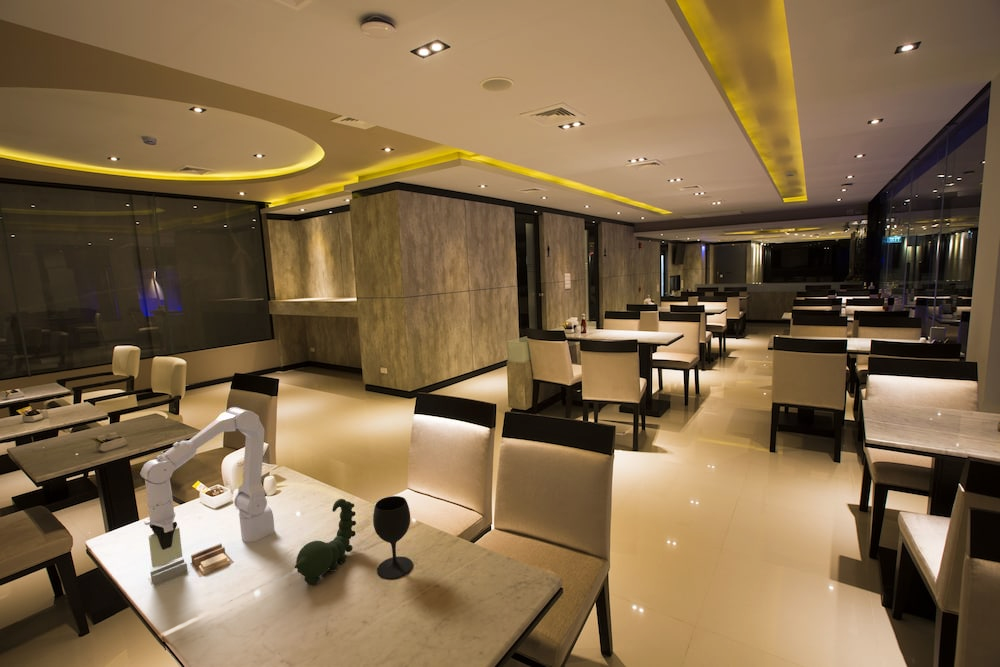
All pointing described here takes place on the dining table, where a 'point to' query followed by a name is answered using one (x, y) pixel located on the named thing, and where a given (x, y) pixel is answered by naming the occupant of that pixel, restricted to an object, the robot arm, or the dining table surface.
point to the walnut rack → (207, 557)
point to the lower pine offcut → (214, 567)
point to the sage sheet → (167, 554)
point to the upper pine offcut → (213, 561)
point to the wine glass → (392, 534)
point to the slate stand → (168, 572)
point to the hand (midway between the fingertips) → (165, 546)
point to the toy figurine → (327, 547)
